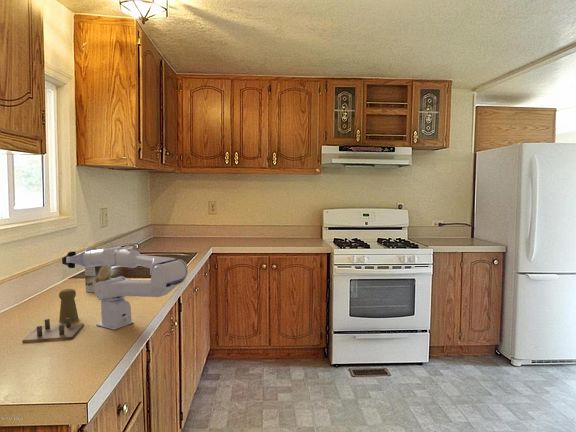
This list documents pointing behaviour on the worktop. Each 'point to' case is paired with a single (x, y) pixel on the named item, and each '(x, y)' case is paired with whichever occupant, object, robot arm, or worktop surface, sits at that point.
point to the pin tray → (54, 332)
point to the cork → (68, 305)
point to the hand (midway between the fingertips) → (73, 260)
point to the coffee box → (96, 276)
